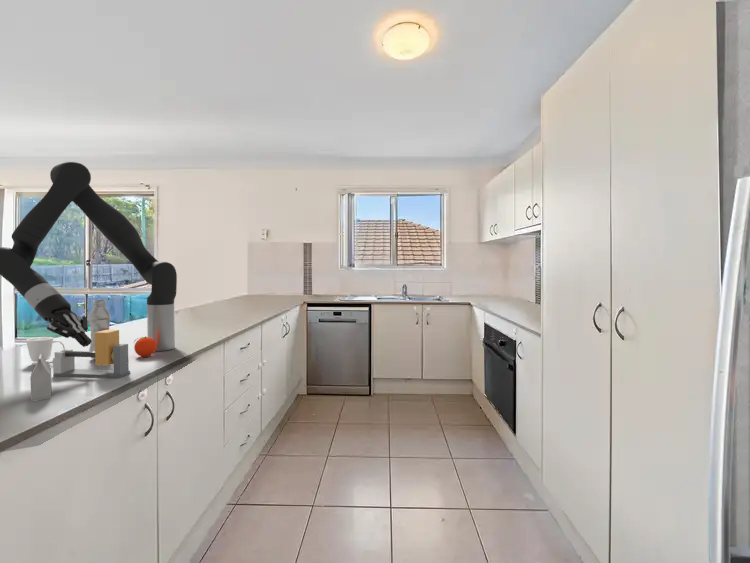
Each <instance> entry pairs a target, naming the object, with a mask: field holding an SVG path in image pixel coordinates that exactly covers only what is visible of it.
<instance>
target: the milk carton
mask: <svg viewBox="0 0 750 563" xmlns="http://www.w3.org/2000/svg"><path fill="white" fill-rule="evenodd" d="M46 361H47V360H46ZM46 361H45V359H44V358H43V355H42V354H40V356H39V359H38V362H37V363H36V365H34V367H33V369H32V371H31V374H30V402H36V401H35V400H37V401H42V400H41V399H44V400H48V399H47V398H50V399H51V398H52V393H51V392H52V391H53V390H52V389H53V388H52V368H51V367H50V365H49V364H48V363H47V362H46Z"/></svg>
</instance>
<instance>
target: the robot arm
mask: <svg viewBox="0 0 750 563" xmlns="http://www.w3.org/2000/svg"><path fill="white" fill-rule="evenodd" d="M91 176H92V174H91V172H90V170H89V169H88V168H87V166H86V165H84V164H82V163H81V162H78V161H64V162H62V163H59V164H56V165H55V166H53V167H52V168H51V170H50V174H49V177H50V181H51V183H52V185H51V186H50V188H49V189H48V191H47V192H46V193H45V195H44V196H43V197H42V199H40V201H39V202H38V203H37V204H35V206H34V207H33V208H31V209H30V211H28V213H27V214H26V215H25V216H24V217H23V218H22V220H21V221H20V222H19V224H18V225H17V226H16V227H15V229H14V231H13V232H12V234H11V239H12V241H13V246H12V248H11V247H3V246H1V247H0V276H1V277H3V278H4V279H5V280H6V281H7V282H9V283H10V284H11V285H12V286H13V287H14V289H16V291H17V292H18V293H20V296H22V297H23V298H24V299H25V301H26V303H28V305H29V306H30V307H31V308H32V309H33V310H34V311H35V312H36V314H38V315H39V317H41V318H42V320H43V321H44V322H49V324H48V326H47V327H46V329H47V330H48V331H50V332H52V333H54V334H57V335H59V336H61V337H63V338H65V339H69V338H72V339H74V340H76V341H77V343H78V344H79V345H80V346H82V347H83V348H85V347H88V346H90V343H91V342H92V341H91V337H89V336H88V335H87V334H86V331H87V330H88V329H89V326H88V318H87V316H84V315H83V316H82V317H80V316H78V315H77V313H75V312H74V311H72V309H71V308H72V306H71V303H70V302H69V301H68V300H67V299H66V298H65V297H64V296H63V295H62V294H61V293H60V292H59V291H58V290H57V289H56V288H55V287H54V286H53V285H51V284H50V283H49V282H48V281H47V280H46V279H45V278H44V276H42V274H40V272H38V271H36V270H34V269H33V268H32V266H33V263H34V261H35V258H36V255H37V252H38V249H39V246H40V245H41V243H43V241H44V240H45V238H46V237H47V235H48V234H49V233H50V231H51V230H52V228H53V227H54V225H55V224H56V222H57V221H58V219H59V218H60V217H61V215H62V214H63V212H64V211H65V210H66V209H67V208H68V206H69V205H71V203H74V204H75V205H76V206H77V207H78V208H79V209H80V210H81V211H82V212H83V213H84V215H85V216H86V217H87V219H89V221H90V222H91V223H92V224H93V225H94V226H95V227H96V228H97V229H98V230H99V231H100V233H101V234H102V235H103V236H104V237H105V238H106V239H107V240H108V241H109V242H110V244H112V245H113V247H115V249H117V250H118V252H120V253H121V255H123V256H124V257H125V258H126V259H127V260H128V261H129V262H130V264H132V265H133V267H134V268H135V269H136V270H137V272H138V273H139V274H140V276H141V277H142V278H143V279H144V281H145V282H146V283H147V284H149V285H150V286H151V290H150V291H151V292H150V294H149V295H148V296H147V298H146V315H147V316H146V323H147V327H146V328H147V329H146V330H147V331H146V332H147V333H146V334H147V337H150V338H152V339H154V340H155V342H156V344H157V349H156V351H155V352H161V351H163V352H164V351H170V350H173V349H175V348H176V338H175V337H176V335H175V334H176V332H175V331H176V330H175V326H176V325H175V298H176V297H177V289H178V288H177V287H178V286H177V284H178V283H177V282H178V280H177V279H178V275H177V270H176V267H175V265H173V264H172V263H170V262H167V261H159V260H158V259H156V258H155V257H154V256H153V255H152V254H151V253H150V252H149V251H148V249H147V248H146V246H145V245H144V243H143V240H142V238H141V236H140V234H139V232H138V231H137V228H135V225H133V224H132V222H130V220H129V219H128V218H127V217H126V216H125V215H124V214H123V213H122V212H120V211H119V210H118V209H117V208H115V207H114V206H112V205H111V204H110V203H108V202H107V201H106V200H104V199H103V198H101V196H100V195H99V194H98V193H97V192H96V191H95V190H94V189H93V187H92V186H91V185H90V183H91V180H92V177H91Z"/></svg>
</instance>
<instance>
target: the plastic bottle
mask: <svg viewBox="0 0 750 563" xmlns="http://www.w3.org/2000/svg"><path fill="white" fill-rule="evenodd" d="M106 302H107V301H106V299H97V300H93V301H92V307H93V308H92V309H91V311H90V312H89V313H88V316H87V317H88V318H87V319H88V323H89V328H90V339H91V341H92V342H91V343H90V344H89V349H88V352H95V332H99V331H103V330H110V325H111V318H112V317H111V316H112V315H111V313H110V311H109V310H108V309H107V307H106V306H107V303H106ZM90 358H91V359H93V360H95V357H90Z"/></svg>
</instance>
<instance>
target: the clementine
mask: <svg viewBox="0 0 750 563" xmlns="http://www.w3.org/2000/svg"><path fill="white" fill-rule="evenodd" d="M133 347H134V352H135V353H136V354H137V355H138V356H139V357H143V358H145V357H150V356H152V355H153V354H154V353H155V352H157V351H156V349H157V344H156V342H155V340H154V339H152V338H150V337H148V336H141V337H137V338H136V341H135V342H134V346H133Z"/></svg>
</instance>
